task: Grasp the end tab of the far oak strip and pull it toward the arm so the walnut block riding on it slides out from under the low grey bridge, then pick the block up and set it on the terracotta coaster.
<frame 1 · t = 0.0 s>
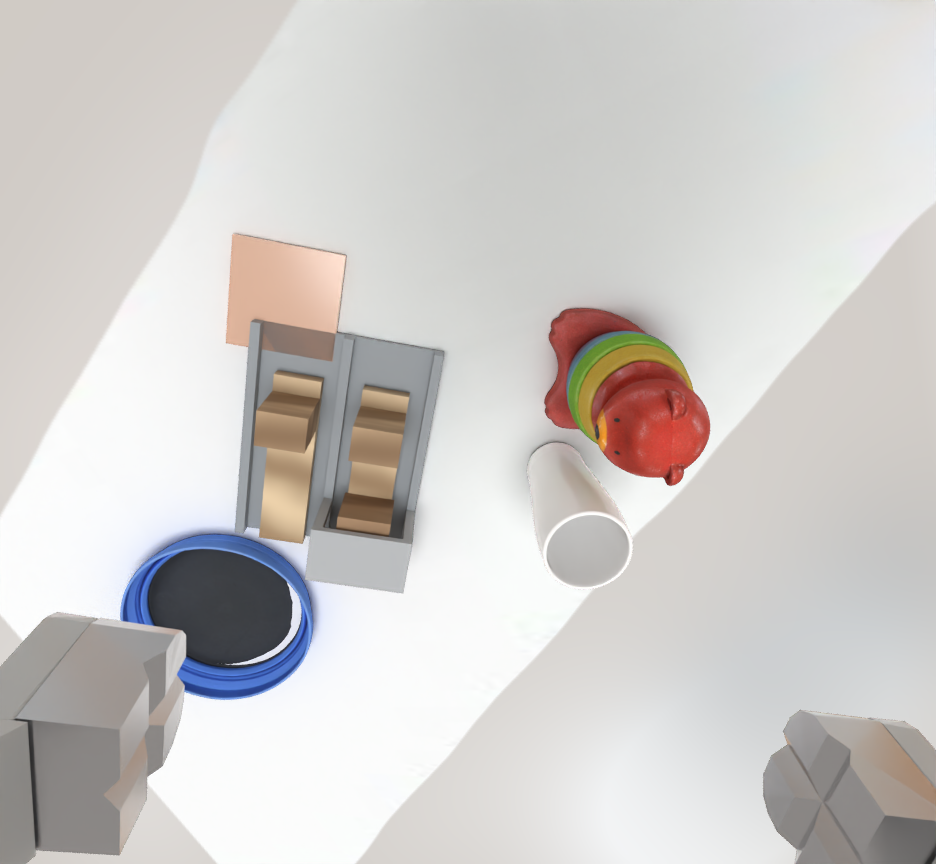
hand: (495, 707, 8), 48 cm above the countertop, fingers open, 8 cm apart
coaster: (286, 299, 54), on the countertop
blue round shallow tray: (228, 603, 65), on the countertop
walnut block: (365, 524, 59), point 2 cm above the countertop, touching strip
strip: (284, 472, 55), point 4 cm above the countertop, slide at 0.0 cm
lane board: (337, 440, 58), on the countertop
drinking glass: (553, 465, 60), on the countertop
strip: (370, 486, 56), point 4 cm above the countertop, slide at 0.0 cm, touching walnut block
stacking bear: (602, 368, 57), on the countertop
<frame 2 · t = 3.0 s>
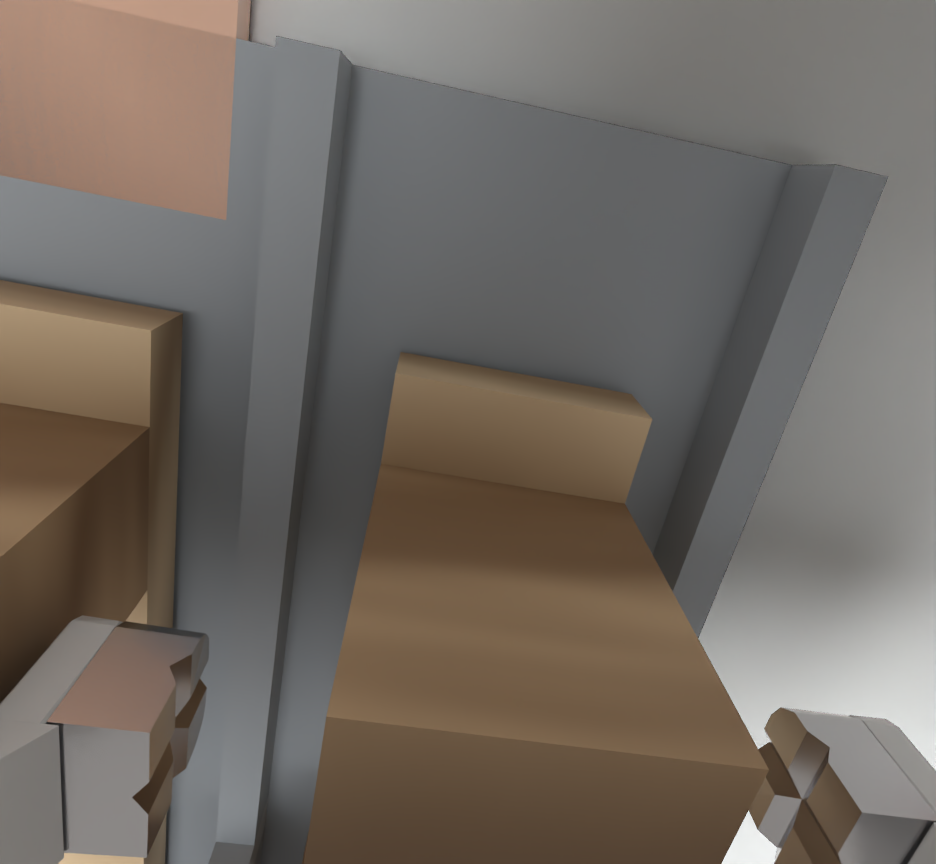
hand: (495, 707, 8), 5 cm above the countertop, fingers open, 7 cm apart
lane board: (275, 599, 13), on the countertop
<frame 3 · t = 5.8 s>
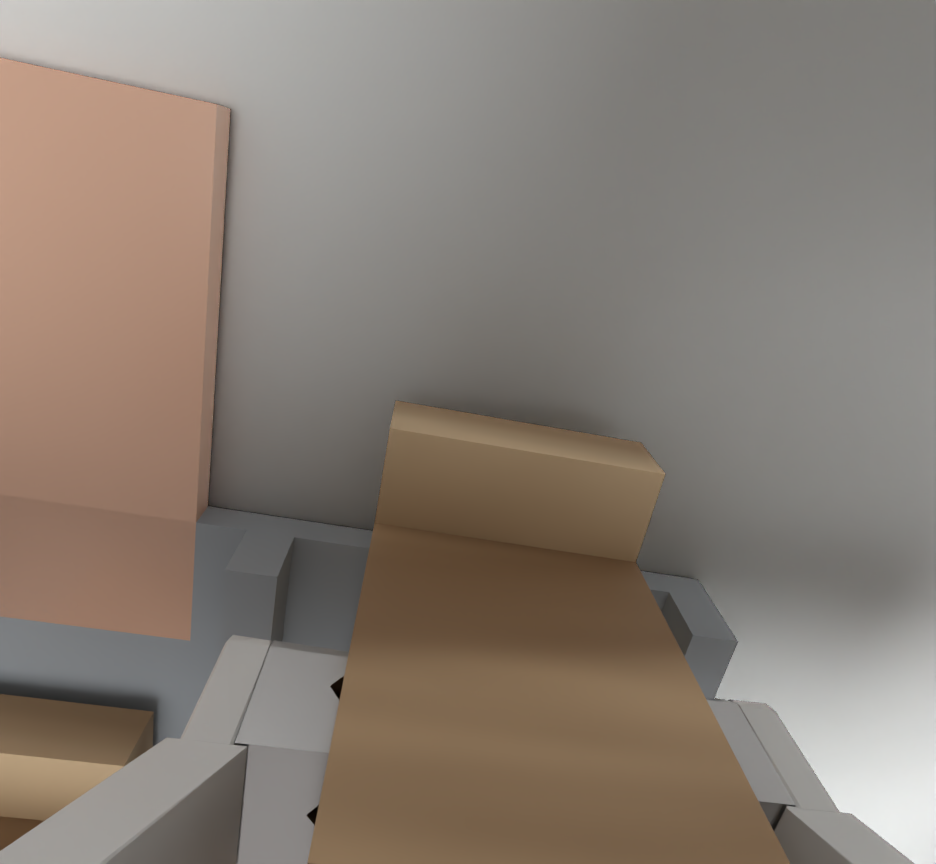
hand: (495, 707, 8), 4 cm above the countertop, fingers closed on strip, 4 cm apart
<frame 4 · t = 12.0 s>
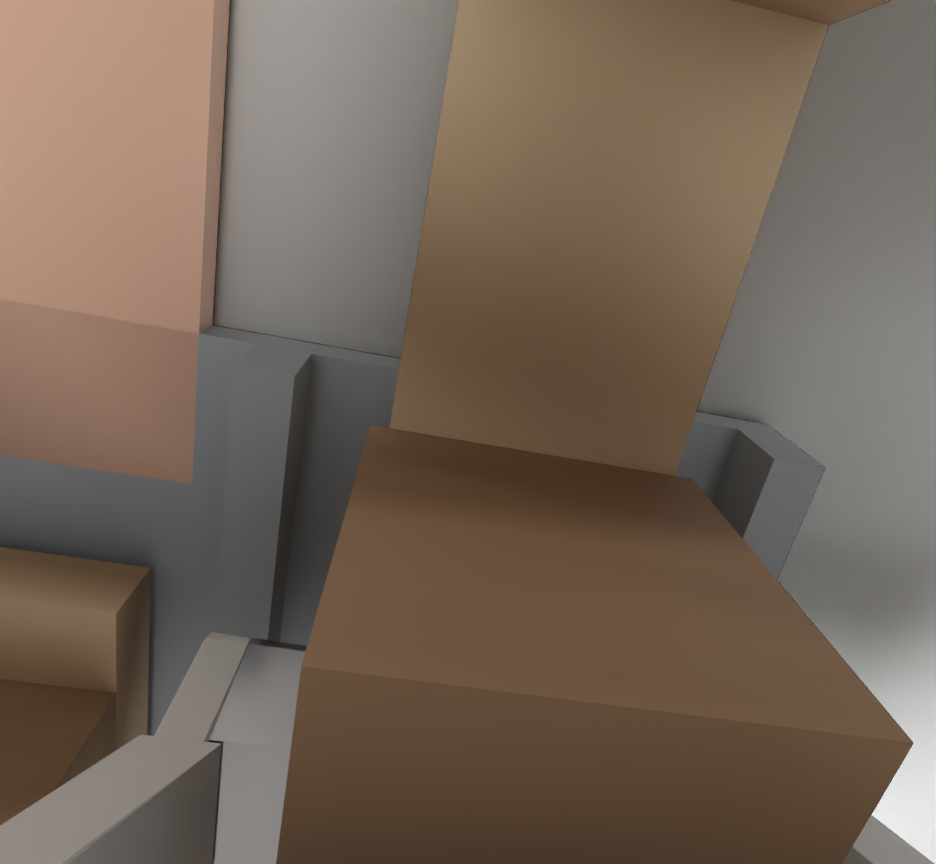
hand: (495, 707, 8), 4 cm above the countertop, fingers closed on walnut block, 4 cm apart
walnut block: (490, 630, 10), point 2 cm above the countertop, touching gripper, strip
lane board: (248, 793, 14), on the countertop
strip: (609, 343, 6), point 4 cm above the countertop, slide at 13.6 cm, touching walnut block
when the fingers open (3 cm above the countertop, at t = 17.9 s): walnut block stays where it is, resting on coaster, lane board.
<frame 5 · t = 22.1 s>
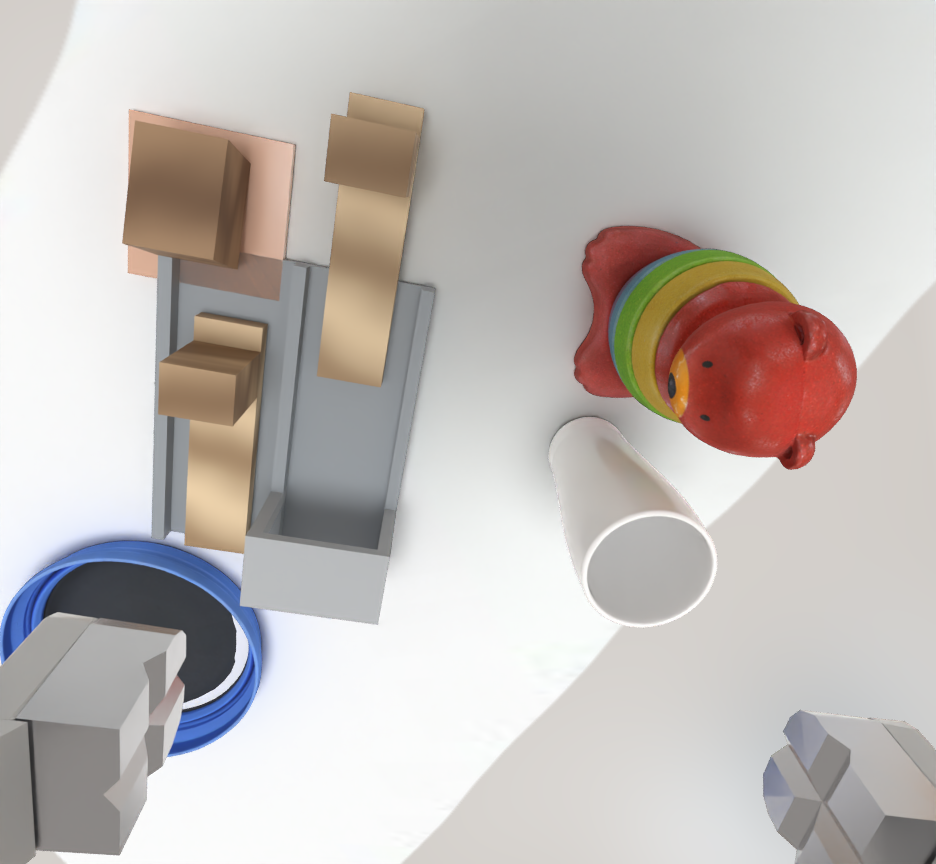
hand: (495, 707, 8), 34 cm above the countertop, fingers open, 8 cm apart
coaster: (211, 210, 38), on the countertop
blue round shallow tray: (152, 632, 49), on the countertop
walnut block: (204, 209, 37), point 1 cm above the countertop, tilted 14°, touching coaster, lane board
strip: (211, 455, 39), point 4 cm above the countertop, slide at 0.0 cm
lane board: (290, 413, 43), on the countertop
drinking glass: (584, 448, 45), on the countertop
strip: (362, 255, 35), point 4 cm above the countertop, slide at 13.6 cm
stacking bear: (653, 313, 41), on the countertop
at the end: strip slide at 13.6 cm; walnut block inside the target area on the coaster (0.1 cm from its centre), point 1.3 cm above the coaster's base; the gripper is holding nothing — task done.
